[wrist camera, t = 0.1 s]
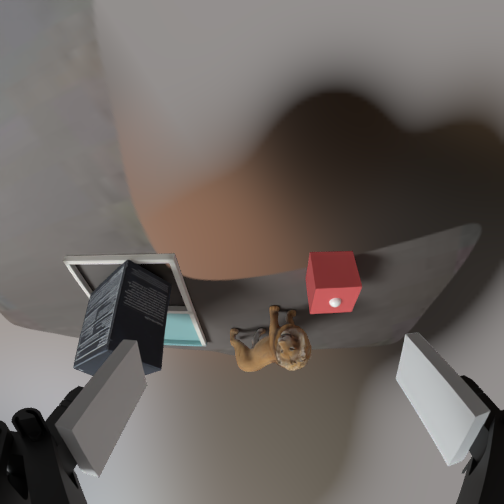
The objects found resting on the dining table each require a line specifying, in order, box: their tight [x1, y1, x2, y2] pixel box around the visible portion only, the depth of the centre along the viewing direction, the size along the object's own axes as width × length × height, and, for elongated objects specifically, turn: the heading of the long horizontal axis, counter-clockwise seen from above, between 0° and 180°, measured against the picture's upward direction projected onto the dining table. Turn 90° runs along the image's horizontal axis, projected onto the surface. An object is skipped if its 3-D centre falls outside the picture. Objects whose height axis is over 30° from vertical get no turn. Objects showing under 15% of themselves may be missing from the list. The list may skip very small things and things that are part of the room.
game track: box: [63, 253, 207, 346], centre depth 38 cm, size 21×14×1 cm
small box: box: [73, 260, 171, 376], centre depth 30 cm, size 11×6×10 cm, turn 131°
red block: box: [306, 251, 362, 314], centre depth 30 cm, size 4×4×5 cm
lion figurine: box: [230, 305, 311, 372], centre depth 37 cm, size 15×5×9 cm, turn 147°
